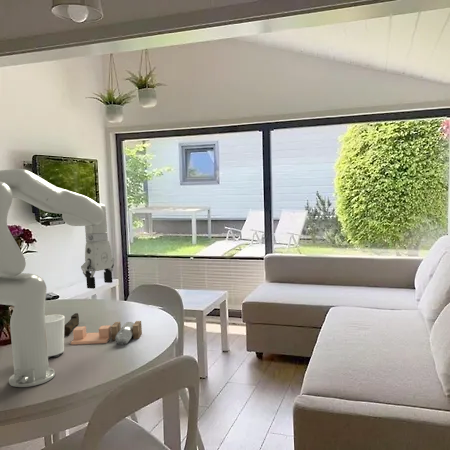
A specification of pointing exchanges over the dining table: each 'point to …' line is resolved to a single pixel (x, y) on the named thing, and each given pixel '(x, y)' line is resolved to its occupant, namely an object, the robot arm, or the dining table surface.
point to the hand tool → (71, 324)
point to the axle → (125, 334)
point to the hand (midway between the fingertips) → (100, 285)
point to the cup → (55, 334)
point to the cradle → (91, 335)
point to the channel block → (136, 329)
